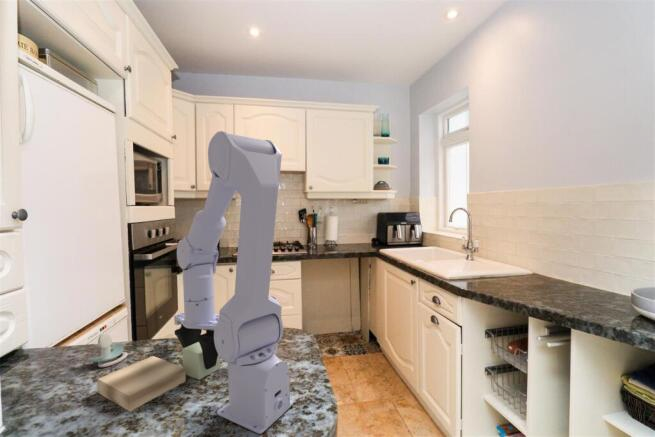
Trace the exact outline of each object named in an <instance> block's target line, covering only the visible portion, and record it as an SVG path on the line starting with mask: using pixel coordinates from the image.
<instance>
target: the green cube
mask: <svg viewBox="0 0 655 437" xmlns="http://www.w3.org/2000/svg"><path fill="white" fill-rule="evenodd" d="M181 353H182V355H181V356H182V367H183V368H185V376H188V377H191V378H193V379H196V380H202V379H203V378H205V377H207V376H208V375H210V374H212V373H214V372H216V371H218V370H220V369H221V357H220V356H219V354H218V357H217V362H216V366H214V367H212V368H210V369H208V370H207V369H205V366H204V360H203V353H202V349H201V346H200V343H199V342H197V343H195V344H192V345H190V346H188V347H186V348H183V347H182V352H181Z"/></svg>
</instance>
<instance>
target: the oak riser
mask: <svg viewBox="0 0 655 437" xmlns="http://www.w3.org/2000/svg"><path fill="white" fill-rule="evenodd" d="M186 380H187V379H186V374H185V368H183V366H180V365H178V364H176V363H173V362H170V361H168V360H165V359H162V358H161V357H160V358H159V357H157V356H156V355H155V356H154V355H152V356H149V357H147V358H144V359H142V360H139V361H137V362H134V363H132V364H130V365H127V366H124V367H123V368H120V369H117V370H115V371H113V372H111V373H108V374H106V375H104V376H100V377H98V378H97V393H98V394H100V395H101V396H103V397H105V398H107V399H108V400H109V401H111V402H113V403H114V404H116V405H117V406H120V407H122V408H123V409H125V410H126V411H128V412H132V411H134V410H135V409H137V408H139V407H140V406H143V405H145V404H146V403H148V402H151V401H152V400H154V399H155V398H158V397H160V396H161V395H163V394H165V393H166V392H168V391H169V392H170V390H173V389H174V388H176V387H178V386H179V384H180V385H181V383H182V384H183V383H185V382H186Z"/></svg>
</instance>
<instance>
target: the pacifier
mask: <svg viewBox="0 0 655 437" xmlns="http://www.w3.org/2000/svg"><path fill="white" fill-rule="evenodd" d="M112 343H113V338H112V336H111V334H110V333H107V332H105V333H102V334H100V336H98V339H97V345H98V346H99V348H100V356H97V357H92V358H91V357H90V358H87V359H86V360H87V361H88V362H95V363H97V366H98V368H107V367H111V366H113V365H116V364H117V363H120V362H122V361H123V360H125V359H126V358H127V357H128V355H129V354H128V352H126V351H124V348H125V347H124V345H123V344H122V343H116V344H113V345H112ZM117 357H119V358H117Z"/></svg>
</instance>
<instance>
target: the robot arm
mask: <svg viewBox="0 0 655 437" xmlns="http://www.w3.org/2000/svg"><path fill="white" fill-rule="evenodd" d="M282 156H283V155H282V153H281V151H280V150H279V148H278V147H277V145H276V144H275V142H273V141H272V140H270V139H269V140H268V139H264V140H263V139H259V138H254V137H248V136H244V135H238V134H233V133H229V132H228V133H227V132H225V131H223V130H220V131H216V133H214V134H213V136H212V137H211V139H210V141H209V144H208V149H207V157H208V158H207V160H208V168H209V170H210V173H211V179H210V185H209V186H208V187H209V188H208V192H207V194H206V195H207V196H206V200H205V204H204V209H201V210H198V211H197V212H196V213H195V214H194V217H193V221H192V223H191V226H190V229H189V231H188V234H187V236H184V237H183V238H182V239H180V240H179V241H178V243H177V247H176V259H177V263H178V266H179V267H180V269H182V283H183V284H182V285H183V286H182V289H183V310H184V312H180V313H177V314H174V316H173V320H174V325H176V326H179V325H180V327H179V328H177V329H175V330H174V335H175V336H176V337H177V339H178V341H179V342H180V344H181V347H182V349H183V348H186V347H188V346H190V345H192V344H195V343H197V342H199V343H200V346H201V349H202V353H203V360H204V366H205V369H207V370H208V369H210V368H212V367H214V366H216V362H217V357H218V354H219V356H220V359H222V360H223V361H224V362H226V363H227V382H228V387H227V388H228V402H227V403H226V404H224V405H223V406H222V407H220V408H219V409H217V411H216V415H217V416H220V417H221V418H225V419H226V420H228V421H231V422H233V423H235V424H237V425H239V426H242V427H243V428H246V429H248V430H250V431H252V432H255V433H256V434H263V433H264V432H265V431H267V429H268V428H269V427H271V425H273V424H274V423H275V422H276V421H277V420H278V419H279V418H281V416H282V415H284V413H285V412H287V410H289V409H290V408H291V407H293V405H294V400H292V399H291V393H290V391H291V389H290V387H291V386H290V368H289V365H288V364H287V362H286V361H284V360H282V359H280V358H279V357H278V356H277V355H275V354H274V351H275V350H277V351H278V343H280V342H281V340H282V338H283V335H284V323H283V318H282V308H283V307H282V305H281V304H280V302H279V301H278V300H277V299H275V297H273V296H271V295H270V285H271V275H272V262H273V252H274V241H275V229H276V228H275V227H276V218H277V206H278V195H279V188H280V177H281V169H282V168H281V166H282ZM236 193H238V195H239V197H240V199H241V201H240V212H239V213H240V214H239V226H238V227H239V229H238V242H237V255H236V256H237V257H236V268H235V269H236V270H235V281H234V282H235V284H234V294H233V296H232V297H231V298H230V299H229V300H227V302H225V303H224V304H223V306H222V307H221V308H220V310H219V313H216V312H215V311H216V309H215V307H216V306H215V286H214V285H215V284H214V283H215V281H214V277H215V276H214V275H215V274H216V272H217V263H218V260H219V250H218V244H219V241H220V239H221V237H222V234H223V232H224V230H225V228H226V225H227V221H226V218H225V217H224V215H225V213H226V211H227V209H228V207H229V206H230V204H231V202H232V200H233V199H234V196H235V195H236ZM203 331H205V333H202V332H203Z"/></svg>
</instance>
